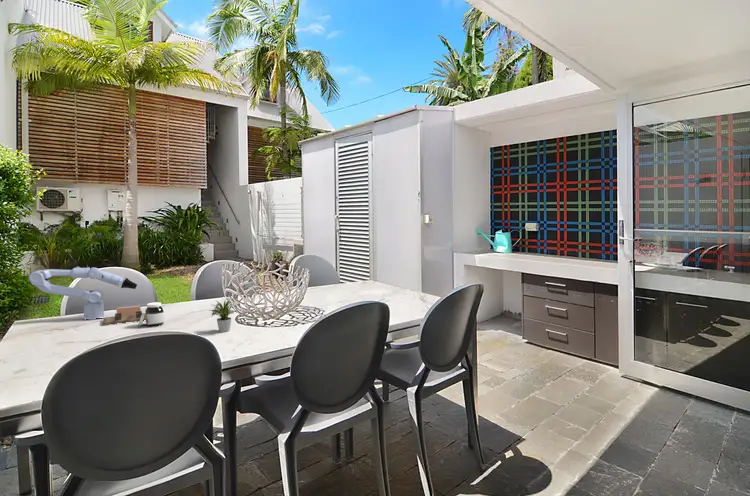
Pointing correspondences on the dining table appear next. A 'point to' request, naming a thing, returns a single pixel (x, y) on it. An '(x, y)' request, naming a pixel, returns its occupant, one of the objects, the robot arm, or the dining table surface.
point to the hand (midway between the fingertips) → (136, 286)
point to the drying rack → (123, 318)
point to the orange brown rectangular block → (128, 310)
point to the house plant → (223, 316)
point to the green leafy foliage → (225, 304)
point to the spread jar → (153, 315)
